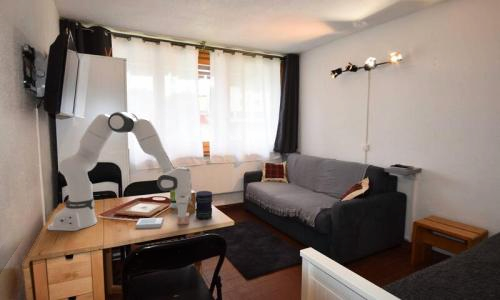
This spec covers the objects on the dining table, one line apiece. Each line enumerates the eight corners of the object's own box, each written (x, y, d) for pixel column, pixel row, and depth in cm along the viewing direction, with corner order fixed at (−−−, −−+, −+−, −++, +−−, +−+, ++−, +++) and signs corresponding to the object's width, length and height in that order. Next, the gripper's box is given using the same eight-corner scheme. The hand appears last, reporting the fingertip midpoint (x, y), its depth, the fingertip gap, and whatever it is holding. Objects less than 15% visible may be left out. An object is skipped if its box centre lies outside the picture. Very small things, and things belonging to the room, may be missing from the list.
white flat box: (135, 228, 144) (135, 224, 144) (139, 221, 153) (139, 218, 153) (161, 227, 147) (161, 223, 146) (163, 220, 155) (163, 217, 155)
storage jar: (197, 221, 156) (197, 196, 155) (194, 215, 165) (194, 191, 164) (214, 219, 160) (214, 194, 158) (210, 213, 169) (210, 190, 167)
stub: (177, 224, 150) (177, 215, 149) (178, 221, 155) (178, 212, 154) (188, 223, 151) (188, 215, 150) (189, 220, 156) (189, 212, 155)
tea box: (178, 201, 193) (178, 181, 191) (192, 202, 191) (192, 181, 190) (169, 208, 178) (169, 186, 176) (184, 209, 177) (184, 187, 175)
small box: (183, 214, 167) (183, 193, 166) (180, 211, 172) (179, 191, 171) (195, 212, 171) (195, 192, 170) (192, 209, 177) (192, 189, 175)
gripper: (179, 191, 161) (179, 213, 162) (175, 201, 141) (176, 226, 142) (190, 190, 162) (190, 213, 163) (188, 201, 142) (188, 226, 143)
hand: (183, 219), depth 153 cm, fingers closed on stub, 5 cm apart
